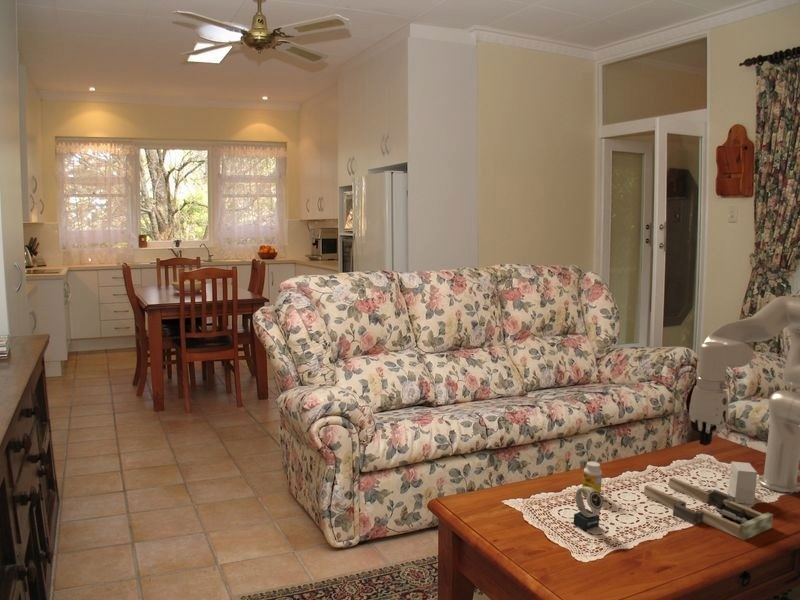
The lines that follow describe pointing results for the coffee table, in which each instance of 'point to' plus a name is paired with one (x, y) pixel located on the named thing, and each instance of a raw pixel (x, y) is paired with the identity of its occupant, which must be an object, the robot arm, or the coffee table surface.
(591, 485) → the supplement bottle
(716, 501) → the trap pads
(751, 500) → the small box
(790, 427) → the robot arm
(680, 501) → the channel
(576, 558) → the coffee table surface
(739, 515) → the gaming controller
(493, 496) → the coffee table surface
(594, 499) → the watch
